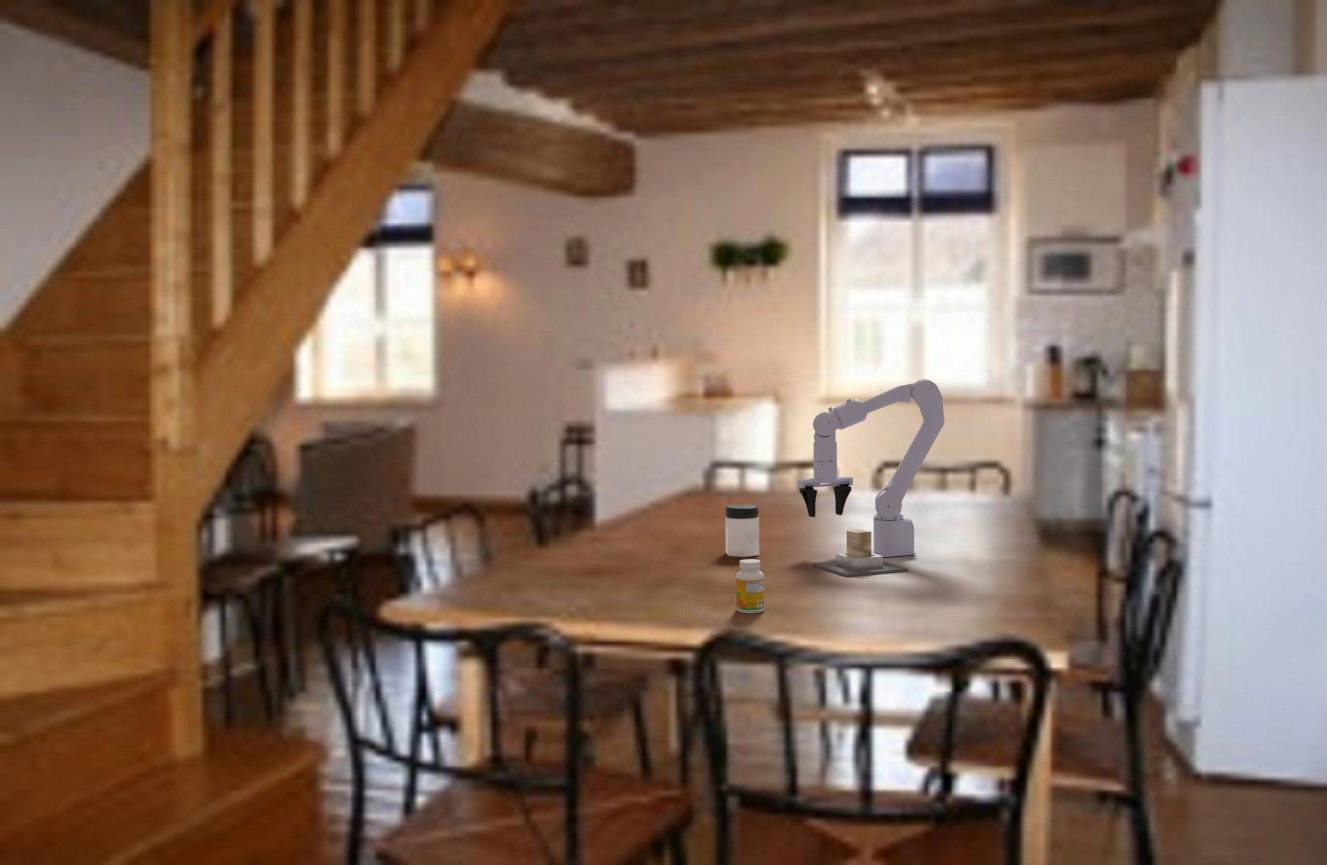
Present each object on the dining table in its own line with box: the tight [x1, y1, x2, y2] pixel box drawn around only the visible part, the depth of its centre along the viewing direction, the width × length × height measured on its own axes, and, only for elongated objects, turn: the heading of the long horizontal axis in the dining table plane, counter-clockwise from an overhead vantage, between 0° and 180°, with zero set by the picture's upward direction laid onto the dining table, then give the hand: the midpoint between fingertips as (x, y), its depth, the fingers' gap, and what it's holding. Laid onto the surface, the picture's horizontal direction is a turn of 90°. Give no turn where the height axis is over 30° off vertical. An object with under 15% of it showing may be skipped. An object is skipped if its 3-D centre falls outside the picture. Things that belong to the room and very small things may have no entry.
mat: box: [811, 560, 909, 578], centre depth 268 cm, size 16×16×1 cm
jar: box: [724, 503, 760, 558], centre depth 289 cm, size 9×8×12 cm
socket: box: [835, 552, 884, 570], centre depth 268 cm, size 8×8×2 cm
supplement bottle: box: [735, 558, 765, 614], centre depth 225 cm, size 5×5×10 cm
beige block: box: [846, 529, 872, 558], centre depth 268 cm, size 4×4×8 cm
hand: (825, 515), depth 288 cm, fingers open, 7 cm apart
